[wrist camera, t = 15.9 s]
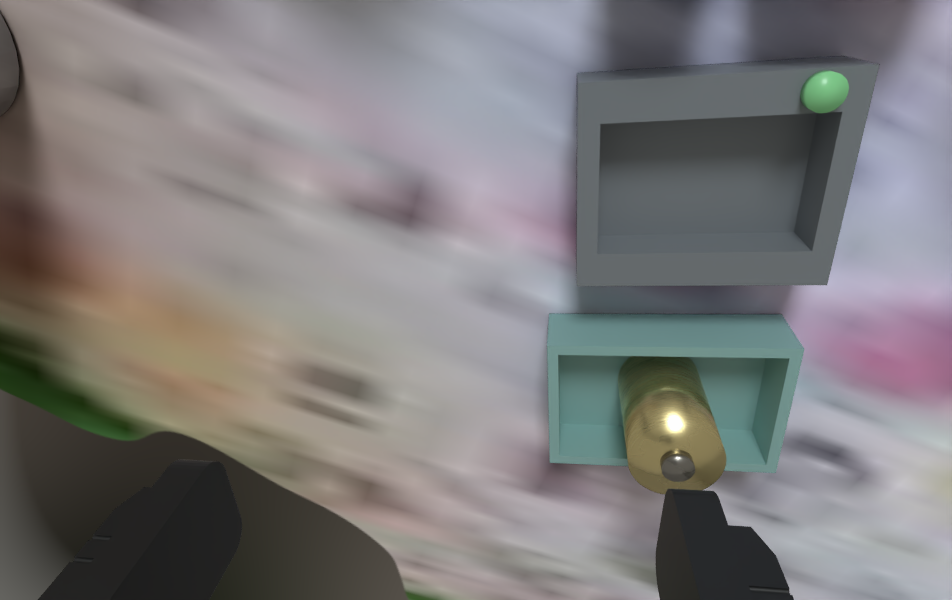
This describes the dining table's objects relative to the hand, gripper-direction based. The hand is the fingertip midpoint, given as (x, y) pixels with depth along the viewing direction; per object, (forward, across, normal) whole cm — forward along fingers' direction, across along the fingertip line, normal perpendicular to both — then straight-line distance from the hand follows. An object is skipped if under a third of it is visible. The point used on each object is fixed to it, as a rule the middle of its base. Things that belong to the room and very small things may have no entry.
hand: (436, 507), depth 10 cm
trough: (+23, -9, +13) cm, 28 cm away
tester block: (+23, -10, 0) cm, 25 cm away
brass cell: (+22, -9, +13) cm, 27 cm away
